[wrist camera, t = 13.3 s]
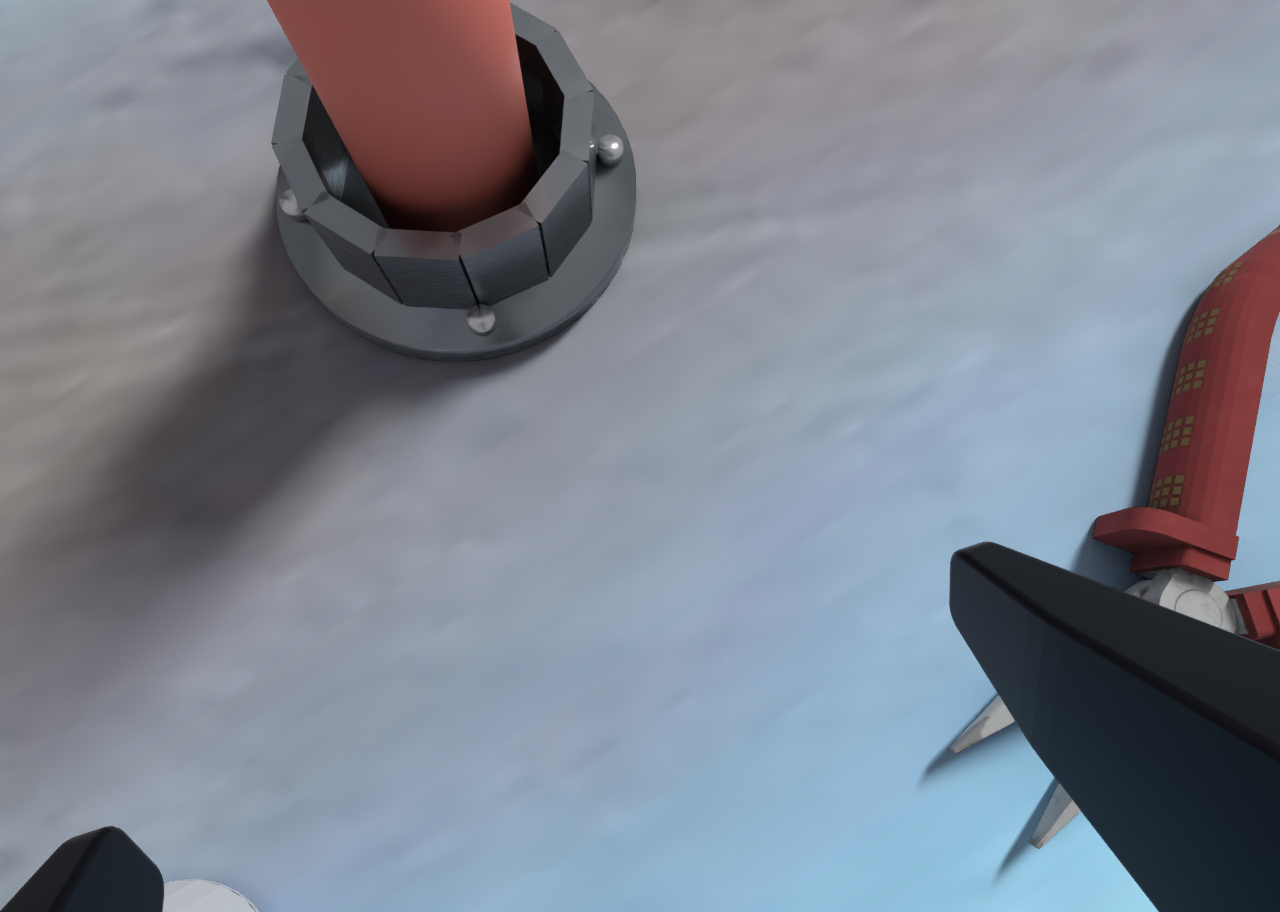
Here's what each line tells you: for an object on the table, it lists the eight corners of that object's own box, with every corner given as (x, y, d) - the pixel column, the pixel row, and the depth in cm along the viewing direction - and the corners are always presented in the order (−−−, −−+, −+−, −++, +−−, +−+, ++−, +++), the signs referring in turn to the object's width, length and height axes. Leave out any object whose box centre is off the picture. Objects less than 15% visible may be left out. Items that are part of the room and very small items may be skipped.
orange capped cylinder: (481, 309, 23) (326, -84, 11) (322, 211, 23) (5, -264, 11) (592, 164, 24) (566, -332, 12) (438, 76, 25) (266, -478, 13)
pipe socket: (505, 428, 23) (482, 382, 19) (216, 244, 24) (138, 166, 20) (699, 159, 25) (713, 70, 21) (428, 5, 27) (395, -105, 23)
